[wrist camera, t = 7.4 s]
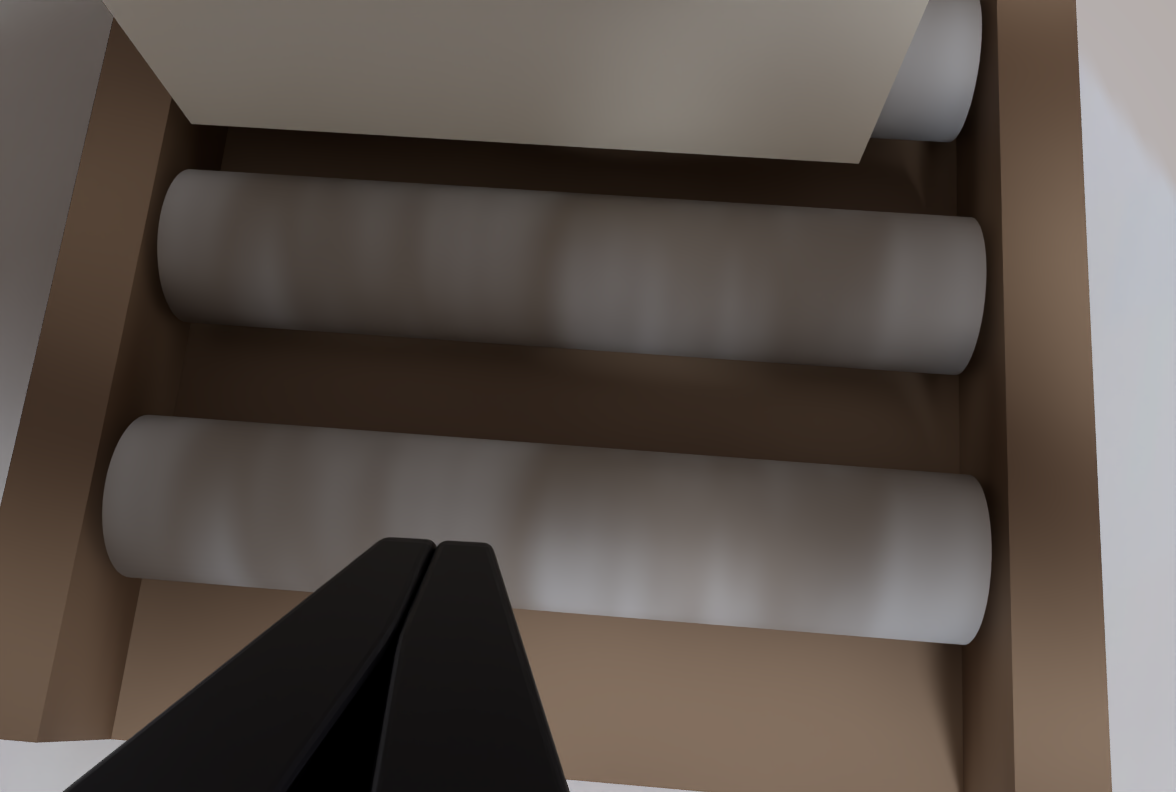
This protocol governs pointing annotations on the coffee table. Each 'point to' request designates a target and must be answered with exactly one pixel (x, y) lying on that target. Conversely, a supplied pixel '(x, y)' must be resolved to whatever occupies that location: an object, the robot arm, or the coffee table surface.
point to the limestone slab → (539, 69)
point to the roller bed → (597, 424)
